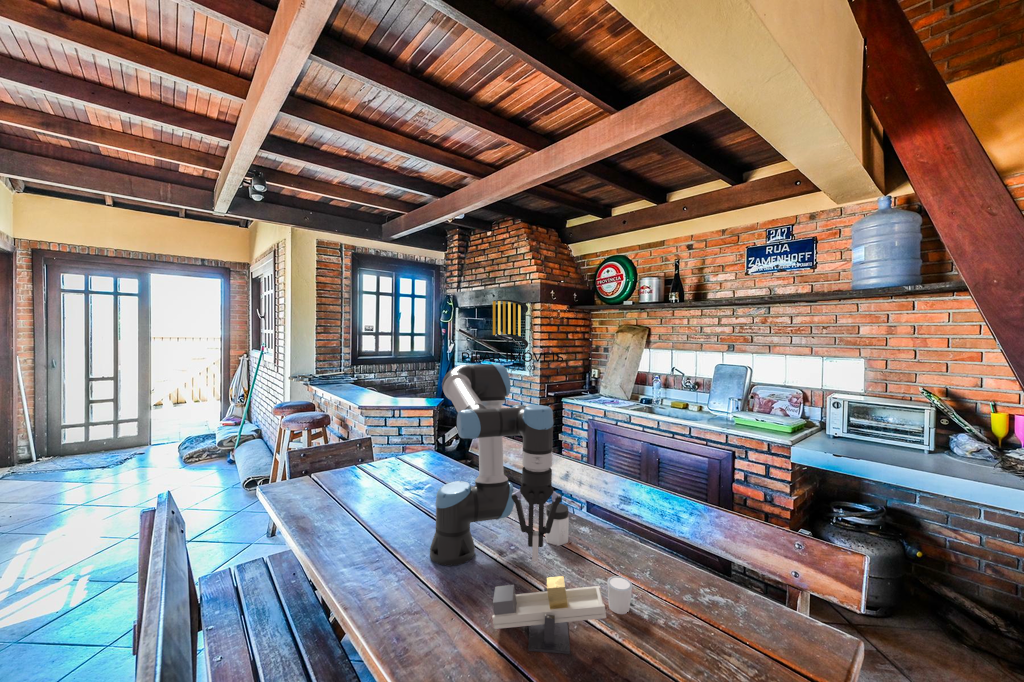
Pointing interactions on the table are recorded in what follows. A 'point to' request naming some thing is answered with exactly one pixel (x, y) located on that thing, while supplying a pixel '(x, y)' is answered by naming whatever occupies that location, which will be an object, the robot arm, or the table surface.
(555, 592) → the rider
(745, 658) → the table surface
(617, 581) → the shot glass
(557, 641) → the stand
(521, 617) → the beam
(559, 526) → the jar
